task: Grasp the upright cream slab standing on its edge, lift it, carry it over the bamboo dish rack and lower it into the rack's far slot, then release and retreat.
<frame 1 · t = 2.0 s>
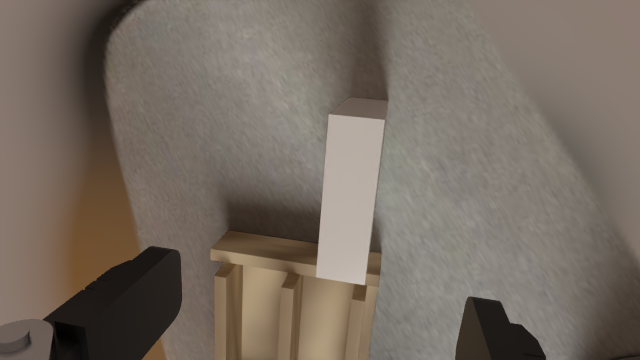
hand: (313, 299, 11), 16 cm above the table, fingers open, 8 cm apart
upright cream slab: (362, 161, 26), on the table
rack: (297, 317, 30), on the table
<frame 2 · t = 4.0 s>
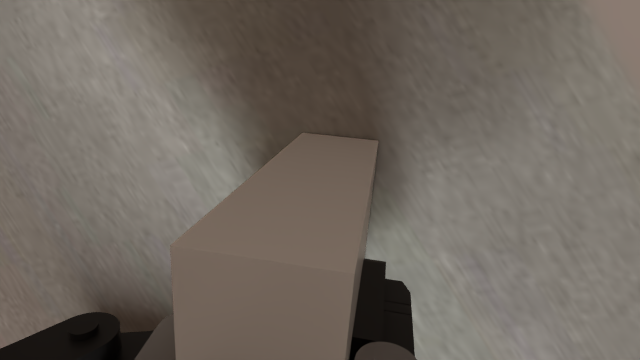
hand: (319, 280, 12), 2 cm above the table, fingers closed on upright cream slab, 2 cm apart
upright cream slab: (329, 251, 14), on the table, touching gripper
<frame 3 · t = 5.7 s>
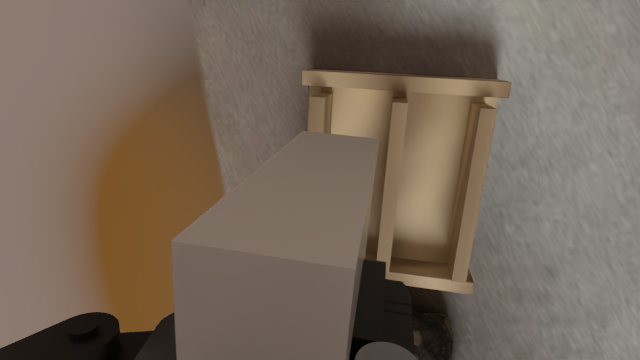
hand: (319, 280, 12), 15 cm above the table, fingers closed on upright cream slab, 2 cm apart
fossil: (386, 345, 31), on the table
upright cream slab: (330, 249, 14), point 13 cm above the table, touching gripper
rack: (391, 173, 26), on the table
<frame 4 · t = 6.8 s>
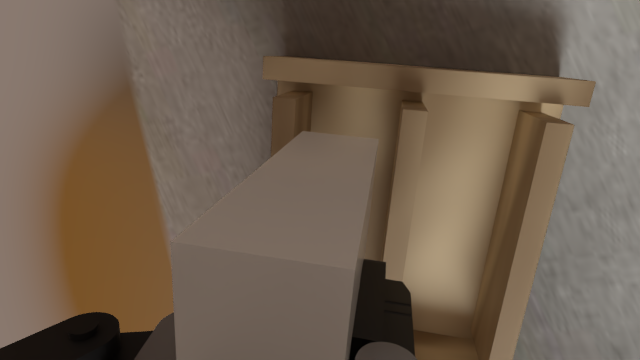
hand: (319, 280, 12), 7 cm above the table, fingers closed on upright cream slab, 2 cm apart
upright cream slab: (330, 249, 14), point 5 cm above the table, touching gripper
rack: (396, 209, 18), on the table
when the fingers open (5 cm above the table, at t = 7.4 s): upright cream slab drops 2 cm, resting on rack.
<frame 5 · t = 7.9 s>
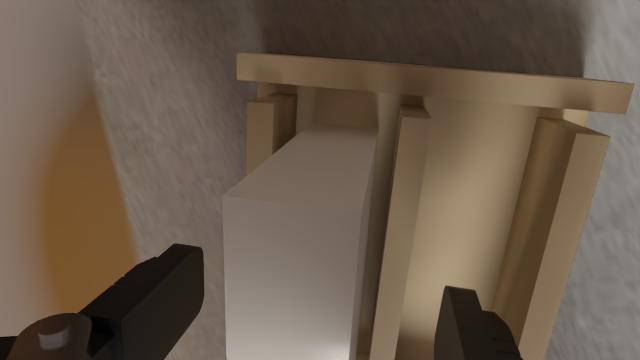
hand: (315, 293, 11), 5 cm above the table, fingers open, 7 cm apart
upright cream slab: (337, 228, 15), point 1 cm above the table, touching rack
rack: (393, 227, 16), on the table
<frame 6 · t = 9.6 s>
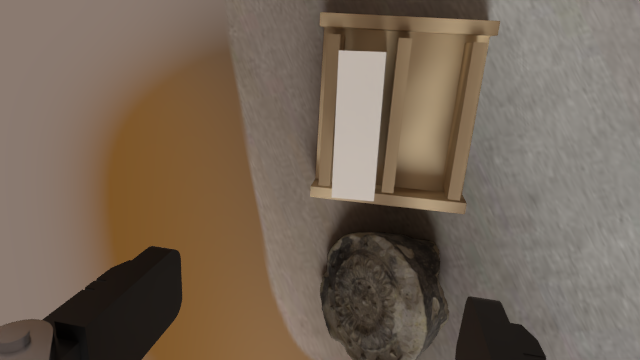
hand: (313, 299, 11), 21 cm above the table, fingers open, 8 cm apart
fossil: (381, 273, 34), on the table
upright cream slab: (365, 109, 29), point 1 cm above the table, touching rack
rack: (395, 111, 30), on the table
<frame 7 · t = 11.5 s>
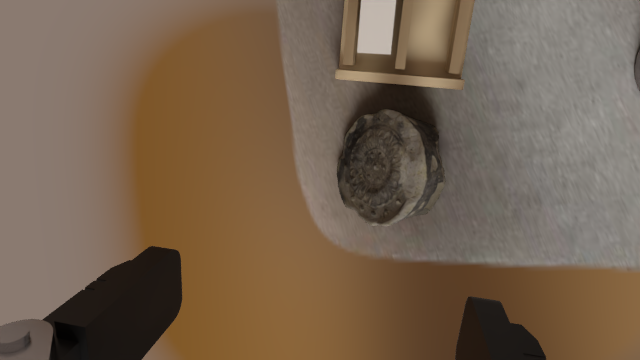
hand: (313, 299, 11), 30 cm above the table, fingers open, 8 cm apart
fossil: (388, 158, 40), on the table
upright cream slab: (382, 6, 35), point 1 cm above the table, touching rack
rack: (406, 9, 36), on the table
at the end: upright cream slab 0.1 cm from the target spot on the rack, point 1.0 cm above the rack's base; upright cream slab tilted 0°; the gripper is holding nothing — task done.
